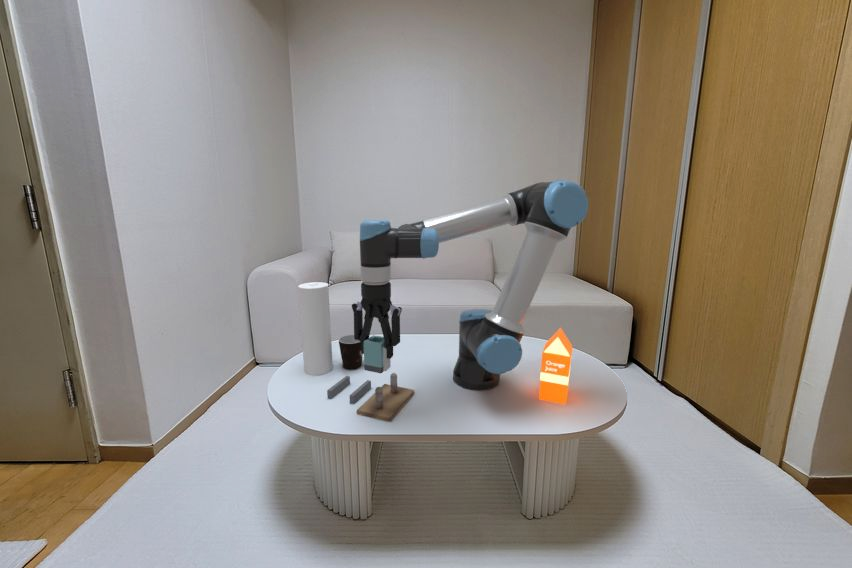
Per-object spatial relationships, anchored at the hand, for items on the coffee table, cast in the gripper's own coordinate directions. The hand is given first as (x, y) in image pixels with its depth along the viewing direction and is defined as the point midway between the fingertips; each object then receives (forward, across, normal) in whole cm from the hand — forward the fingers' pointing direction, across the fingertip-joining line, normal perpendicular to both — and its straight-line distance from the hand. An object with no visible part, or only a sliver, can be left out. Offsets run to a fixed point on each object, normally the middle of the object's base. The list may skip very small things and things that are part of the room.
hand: (377, 366), depth 100 cm
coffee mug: (+13, +23, -21) cm, 33 cm away
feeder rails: (+13, +13, -6) cm, 19 cm away
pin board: (+13, 0, -5) cm, 14 cm away
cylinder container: (+14, +32, -16) cm, 38 cm away
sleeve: (0, 0, 0) cm, 0 cm away
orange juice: (+13, -44, -28) cm, 54 cm away
